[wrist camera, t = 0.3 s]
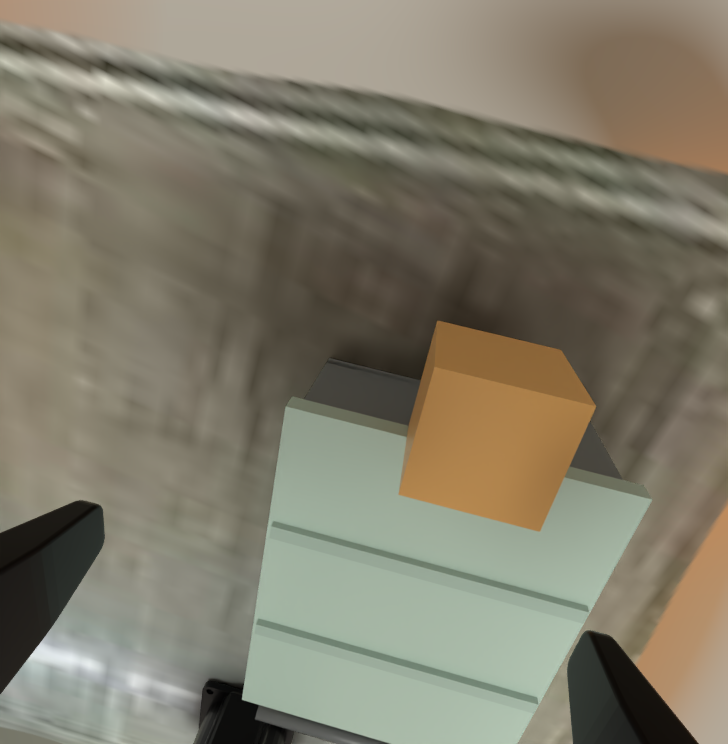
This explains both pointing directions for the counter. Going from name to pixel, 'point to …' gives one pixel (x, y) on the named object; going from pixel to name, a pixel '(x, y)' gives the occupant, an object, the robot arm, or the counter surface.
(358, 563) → the lid
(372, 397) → the parts tub
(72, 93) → the counter surface
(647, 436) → the counter surface
